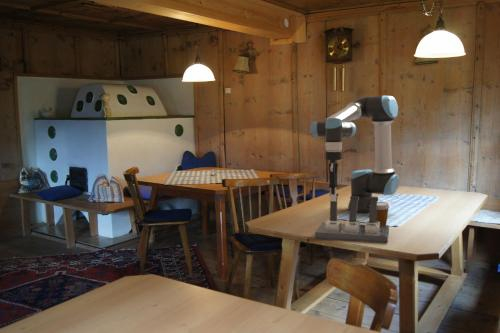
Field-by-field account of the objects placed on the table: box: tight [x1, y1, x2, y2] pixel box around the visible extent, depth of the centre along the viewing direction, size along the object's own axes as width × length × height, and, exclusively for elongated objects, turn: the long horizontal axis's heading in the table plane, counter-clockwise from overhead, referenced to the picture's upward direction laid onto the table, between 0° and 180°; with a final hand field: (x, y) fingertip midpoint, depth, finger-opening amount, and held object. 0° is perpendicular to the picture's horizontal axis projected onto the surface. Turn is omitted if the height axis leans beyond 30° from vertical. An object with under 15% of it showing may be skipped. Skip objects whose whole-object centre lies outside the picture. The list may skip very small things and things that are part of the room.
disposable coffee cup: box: [376, 201, 390, 226], centre depth 235 cm, size 10×10×12 cm
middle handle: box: [348, 195, 359, 222], centre depth 225 cm, size 2×4×13 cm
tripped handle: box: [329, 192, 339, 221], centre depth 225 cm, size 2×4×13 cm, turn 71°
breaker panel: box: [314, 218, 390, 244], centre depth 223 cm, size 18×32×6 cm, turn 71°
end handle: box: [368, 196, 379, 223], centre depth 222 cm, size 2×4×13 cm
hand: (333, 200), depth 224 cm, fingers closed
